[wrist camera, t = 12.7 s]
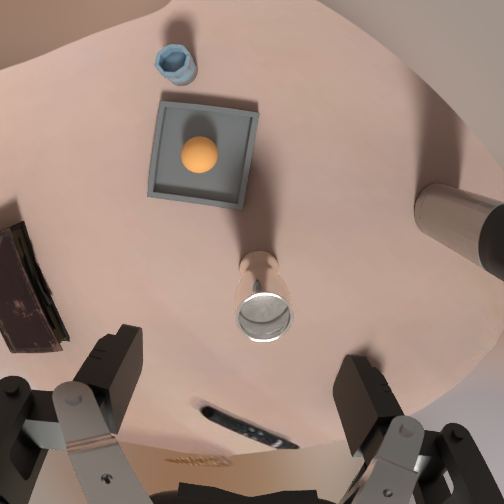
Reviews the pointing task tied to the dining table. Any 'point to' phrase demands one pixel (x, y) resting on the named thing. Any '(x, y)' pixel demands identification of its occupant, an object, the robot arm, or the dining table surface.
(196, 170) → the ball
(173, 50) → the cup
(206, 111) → the tray
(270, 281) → the beer glass
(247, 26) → the dining table surface
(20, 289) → the diary
